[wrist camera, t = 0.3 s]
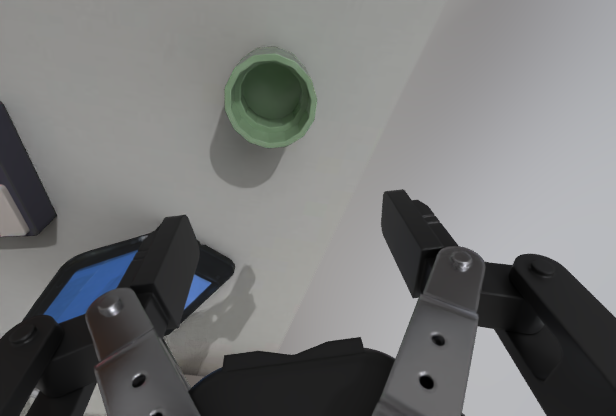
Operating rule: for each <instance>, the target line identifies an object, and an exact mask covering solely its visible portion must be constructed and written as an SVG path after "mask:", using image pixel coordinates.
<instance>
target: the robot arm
mask: <svg viewBox="0 0 616 416" xmlns="http://www.w3.org/2000/svg"><path fill="white" fill-rule="evenodd" d="M381 227H382V233H383V236H384V238H385V240H386V242H387V244H388V247H389V249H390V251H391V253H392V255H393V257H394V259H395V261H396V263H397V266H398V268H399V270H400V272H401V274H402V276H403V278H404V280H405V282H406V284H407V287H408V289H409V291H410V293H411V295H412V297H413V298H419V299H418V301H417V304H416V307H415V309H414V312H413V314H412V317H411V320H410V322H409V325H408V327H407V330H406V333H405V335H404V338H403V340H402V343H401V346H400V348H399V351H398V354H397V356H396V359H395V358H393V357H391V356H389V355H387V354H385V353H383V352H380V351H377V350H373V349H369V348H363V344H362V340H361V337H358V338H351V339H343V340H335V341H328V342H325V343H323V344H320V345H318V346H316V347H313V348H310V349H308V350H305V351H303V352H300V353H298V354H295V355H287V354H279V353H271V352H263V351H254V352H246V353H239V354H231V355H224V361H223V367H222V368H220V369H217V370H215V371H214V372H212V373H210V374H208V375H207V376H205V377H204V378H202V379H201V380H200V381H199V382H198V383H196V384H195V385H194V386H193V387H192V388H191V386H190V385H189V383H188V381H187V380H186V378H185V376H184V374H183V372H182V371H181V369H180V367H179V365H178V364H177V362H176V360H175V358H174V356H173V355H172V353H171V351H170V349H169V347H168V346H167V344H166V342H165V340H164V339H163V337H164V334H165V331H166V330H168V329H175V328H179V324H180V321H181V318H182V314H183V311H184V308H185V304H186V301H187V298H188V294H189V291H190V287H191V284H192V281H193V277H194V274H195V271H196V267H197V264H198V261H199V255H200V251H199V245H198V242H197V239H196V237H195V234H194V232H193V229H192V226H191V224H190V221H189V219H188V217H187V216H186V215H180V216H172V217H166V218H164V220H163V222H162V224H161V226H160V228H159V230H158V231H153V232H152V233H151V234H150V235H149V236H147V237H146V238H145V239H144V240H143V242H142V243H141V245H140V247H139V249H138V252H136V254H135V256H134V258H133V260H132V261H131V263H130V265H129V267H128V268H127V270H126V272H125V274H124V276H123V277H122V279H121V281H120V283H119V285H118V286H117V288H116V289H113V290H111V291H108V292H106V293H104V294H103V295H101V296H100V297H98V298H97V299H96V300H95V301H94V302H93V303H92V304H91V305H90V306H89V307H88V309H87V311H86V314H83V315H80V316H78V317H75V318H72V319H69V320H67V321H64V322H61V323H57V322H56V320H55V319H54V318H53V317H51V316H49V315H39V316H35V317H32V318H29V319H27V320H25V321H23V322H21V323H19V324H18V325H16V326H15V327H13V328H12V329H10V330H9V331H8V332H7V333H6V334H5V335H4V336H3V337H2V338H1V339H0V416H20V413H21V411H22V409H23V408H24V406H25V404H26V402H27V401H28V399H29V397H30V395H31V394H32V392H33V390H34V388H35V387H36V388H37V389H38V390H40V391H39V393H38V395H37V397H36V398H35V400H34V402H33V404H32V406H31V407H30V409H29V411H28V413H27V415H26V416H83V414H84V412H85V410H86V407H87V405H88V402H89V400H90V397H91V395H92V393H93V390H94V388H95V385H96V383H98V386H99V389H100V393H101V396H102V399H103V403H104V406H105V409H106V413H107V416H465V415H464V414H463V413H462V409H463V403H464V398H465V392H466V387H467V381H468V376H469V370H470V365H471V359H472V354H473V348H474V343H475V337H476V332H477V326H480V327H486V328H492V329H494V330H495V331H496V333H497V335H498V336H499V338H500V340H501V341H502V343H503V345H504V346H505V348H506V349H507V351H508V353H509V354H510V356H511V358H512V359H513V361H514V363H515V364H516V366H517V367H518V369H519V371H520V373H521V374H522V376H523V377H524V379H525V381H526V382H527V384H528V386H529V387H530V389H531V390H532V392H533V394H534V396H535V397H536V399H537V401H538V402H539V404H540V405H541V407H542V409H543V410H544V412H545V414H546V415H547V416H616V318H615V317H614V316H613V315H612V314H611V313H610V312H609V311H608V310H607V309H606V308H605V307H604V306H603V305H602V304H601V303H600V302H599V301H598V300H597V299H596V298H595V297H594V296H593V295H592V294H591V293H590V292H589V291H588V290H587V289H586V288H585V287H584V286H583V285H582V284H581V283H580V282H579V281H578V280H577V279H576V278H575V277H574V276H573V275H572V274H571V273H570V272H569V271H568V270H567V269H566V268H564V267H563V266H562V265H561V264H559V263H558V262H556V261H554V260H552V259H550V258H548V257H545V256H541V255H537V254H523V255H520V256H518V257H517V258H516V259H515V261H514V264H513V265H506V264H497V263H489V262H484V260H483V259H482V258H481V257H480V256H479V255H478V254H477V253H476V252H474V251H472V250H470V249H467V248H464V247H460V246H458V245H457V243H456V242H455V241H454V239H453V238H452V237H451V235H450V234H449V233H448V232H447V230H446V229H445V228H444V227H443V225H442V224H441V223H440V222H439V220H438V219H437V217H436V216H434V213H433V212H432V211H431V209H430V208H429V207H428V206H427V205H425V204H424V203H422V202H420V201H419V200H411V199H410V197H409V196H408V195H407V193H406V192H405V191H404V190H403V189H402V190H394V191H386V192H384V194H383V204H382V218H381Z"/></svg>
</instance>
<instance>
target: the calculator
mask: <svg viewBox="0 0 616 416" xmlns="http://www.w3.org/2000/svg"><path fill="white" fill-rule="evenodd" d="M55 217H56V213H55V211H54V209H53V207H52V205H51V203H50V200H49V198H48V196H47V194H46V192H45V190H44V188H43V186H42V184H41V182H40V180H39V178H38V175H37V173H36V171H35V169H34V167H33V165H32V163H31V161H30V159H29V157H28V155H27V153H26V150H25V148H24V146H23V144H22V142H21V140H20V138H19V136H18V134H17V132H16V130H15V128H14V125H13V123H12V121H11V119H10V117H9V115H8V113H7V111H6V109H5V107H4V105H3V104H2V102H1V101H0V237H10V236H35V235H38V234H39V233H40V232H41V231H42V230H43V229H44V228H45V227H46V226H47V225H48V224H49V223H50V222H51V221H52V220H53V219H54V218H55Z"/></svg>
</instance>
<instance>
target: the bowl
mask: <svg viewBox="0 0 616 416" xmlns="http://www.w3.org/2000/svg"><path fill="white" fill-rule="evenodd" d="M316 105H317V97H316V94H315V90H314V87H313V83H312V80H311V78H310V76H309V74H308V72H307V70H306V68H305V67H304V66H303V64H302V63H301V62H300V61H299V60H298V59H297V58H296V56H295V55H294V54H293V53H290V52H288V51H285V50H283V49H281V48H278V47H264V48H257V49H255V50H253V51H252V52H250V53H249V54H248V55H246V56H245V57H243V58H242V59H241V60H240V62H239V63H238V64H237V66H236V67H235V68H234V70H233V72H232V74H231V76H230V78H229V80H228V82H227V84H226V86H225V111H226V114H227V116H228V118H229V120H230V122H231V124H232V126H233V128H234V130H235V131H237V132H238V133H239V134H240V135H241V136H242V137H243V138H245V139H246V140H247V141H248V142H250V143H252V144H255V145H259V146H262V147H265V148H277V147H286V146H288V145H290V144H292V143H293V142H295V141H297V140H298V139H300V138H302V137H303V136H304V135H305V133H306V132H307V130H308V129H309V127H310V126H311V124H312V123H313V121H314V118H315V112H316Z"/></svg>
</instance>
